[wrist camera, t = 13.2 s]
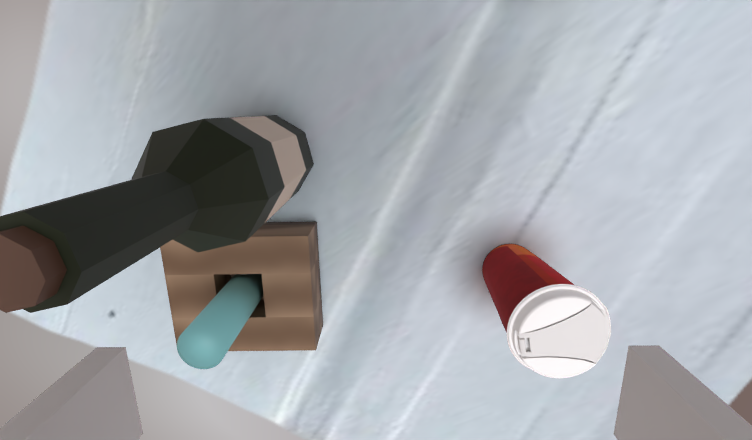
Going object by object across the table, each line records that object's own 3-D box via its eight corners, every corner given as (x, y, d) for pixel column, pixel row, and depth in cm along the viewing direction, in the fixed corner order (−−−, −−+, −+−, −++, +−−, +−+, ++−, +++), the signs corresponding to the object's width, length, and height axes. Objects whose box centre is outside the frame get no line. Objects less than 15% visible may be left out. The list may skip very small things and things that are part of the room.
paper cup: (477, 306, 45) (518, 391, 31) (467, 241, 43) (506, 301, 29) (549, 293, 44) (622, 374, 31) (542, 227, 42) (616, 282, 29)
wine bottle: (228, 191, 42) (-120, 375, 13) (233, 108, 40) (-173, 104, 11) (309, 204, 42) (145, 413, 13) (318, 122, 40) (147, 154, 11)
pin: (234, 264, 43) (173, 327, 30) (268, 262, 43) (221, 326, 30) (238, 295, 44) (181, 369, 31) (272, 294, 44) (227, 368, 31)
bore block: (184, 223, 43) (158, 238, 38) (316, 221, 42) (308, 235, 38) (199, 326, 46) (177, 351, 41) (322, 324, 46) (315, 350, 41)
